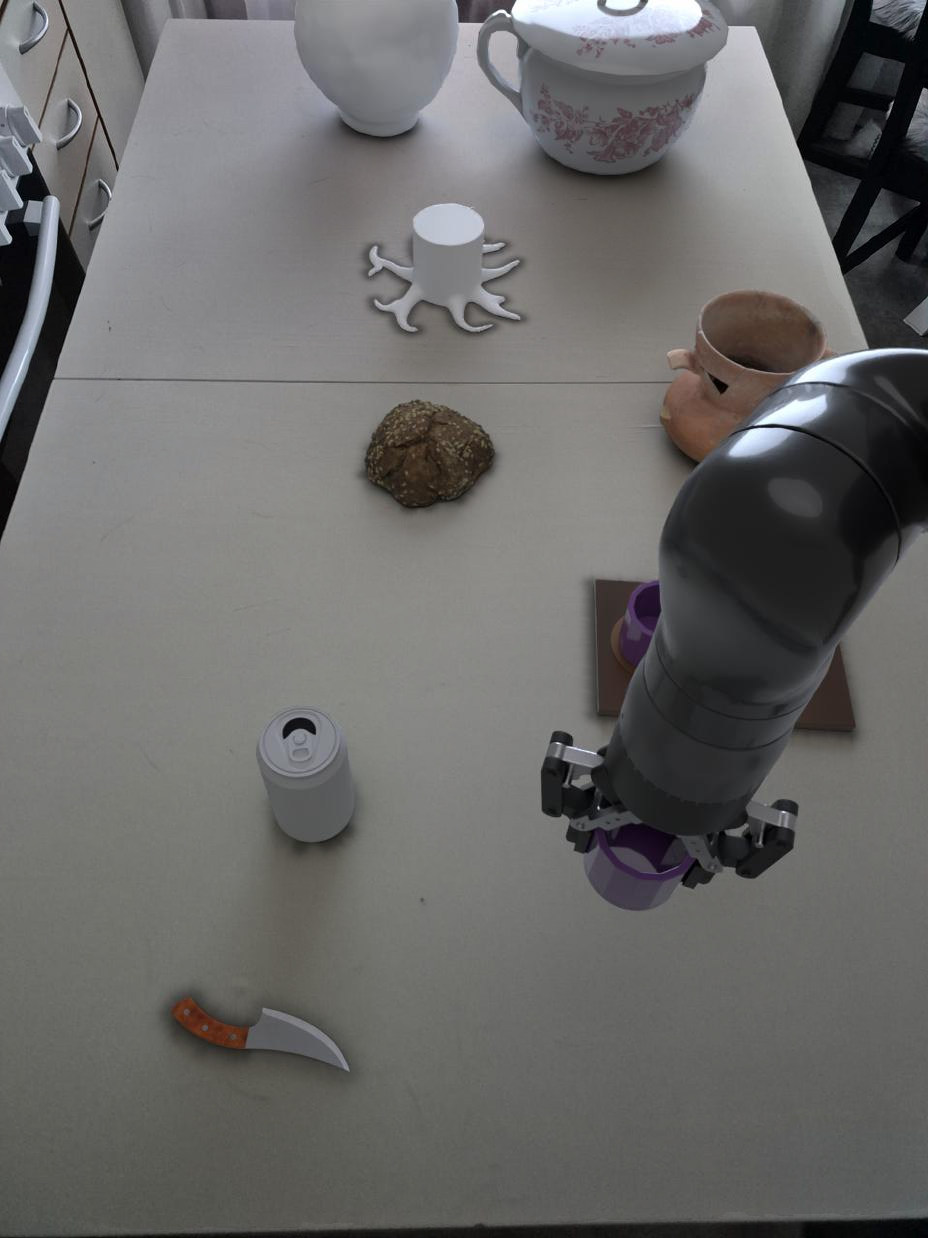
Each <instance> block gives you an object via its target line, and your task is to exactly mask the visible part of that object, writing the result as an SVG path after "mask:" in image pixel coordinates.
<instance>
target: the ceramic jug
mask: <svg viewBox="0 0 928 1238" xmlns="http://www.w3.org/2000/svg"><path fill="white" fill-rule="evenodd" d="M826 330H827V329H826V327H825V325H824V323H823V322H822V320H821V319H820V318H819V317H818V316H817V315H816V314H815V313H814V312H813V311H812V310H811V309H810V308H809V307H807V306H806V305H804V304H803V303H801V302H799V301H796V300H795V299H793V298H791V297H788V296H786V295H782V294H780V293H775V292H773V291H768V290H761V289H751V288H747V289H746V288H745V289H734V290H730V291H727V292H724V293H721V294H718V295H716V296H715V297H713V298H711V299H709V300H708V301H707V302H706V303H705V304H704V305H703V307H702V308H701V309H700V312H699V314H698V317H697V322H696V326H695V338H694V339H695V342H694V343H695V344H694V347H693V349H691V350H689V349H685V348H678V349H673V350H670V351H669V352H667V353H666V356H667V361H668V364H669V367H670V369H671V370H672V371H676V370H685V371H683V372H682V373H681V374H679V375H678V376H677V377H676V378H675V379H674V380H673V381H672V382H671V383H670V385H669V386H668V388H667V390H666V392H665V394H664V397H663V402H662V406H661V407H662V408H661V411H660V415H659V422H660V424H661V425H662V427H663V428H664V431H665V432H666V434H667V435H668V437H669V438H670V440H671V441H672V443H674V445H675V446H676V447H677V448H678V449H679V450H680V451H681V452H683V453H684V454H685V455H687V457H688V458H689V457H690V459H692V460H694V461H696V462H698V463H700V462H701V461H702V460H703V459H704V458H705V457H706V456H707V455H708V454H709V453H710V452H711V451H712V450H713V449H714V448H715V447H716V446H717V445H718V444H719V443H720V442H721V441H722V440H723V439H724V438H725V437H726V436H727V435H728V434H729V433H730V432H731V431H732V430H733V429H734V428H735V427H736V426H737V425H738V424H739V423H740V422H741V421H742V420H743V419H744V418H745V417H746V416H747V415H748V414H749V413H750V412H751V411H752V410H753V409H754V408H755V407H756V406H757V405H758V404H759V403H760V402H761V401H762V400H763V399H764V398H765V397H766V396H767V395H768V394H769V393H770V392H771V391H772V390H773V389H774V388H775V387H776V386H777V385H778V384H779V383H780V382H781V381H783V380H784V379H785V378H787V377H788V376H790V375H791V374H793V373H794V372H796V371H798V370H799V369H801V368H803V367H805V366H807V365H809V364H812V363H814V362H817V361H820V360H823V359H826V358H829V357H832V356H836V355H839V353H838V351H835V350H834V349H832V348H829V347H828V343H829V342H828V334H827V331H826Z"/></svg>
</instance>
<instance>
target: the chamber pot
mask: <svg viewBox="0 0 928 1238" xmlns="http://www.w3.org/2000/svg"><path fill="white" fill-rule="evenodd" d="M509 13H510V14H509ZM509 13H507V11H506V10H505V9H498V10H497V11H495V12H493V13H492V14H490V15H489V16H488V17H487V18H486V19H485V20H484V22H483V23H482V26H481V27H480V29H479V31H478V36H477V41H476V42H477V44H476V51H475V52H476V58H477V64H478V66H479V68H480V69H481V71H482V72H483V74H484V76H485V77H486V79H487V80H488V82H489V83H490V85H491V86H492V87H493V88H495V89H496V90H497V91H499V92H500V94H502V95H503V96H504V97H506V99H507V100H509V102H510V103H511V104H512V105H513V106H514V107H515V109H516V110H517V111H518V112H519V114H520V116H521V117H522V118H523V119H524V121H525V122H526V124H527V125H528V126H529V128H530V130H531V132H532V134H533V136H534V138H535V140H536V142H537V143H538V144H539V145H540V147H541V148H542V149H543V150H544V152H546V154H547V155H548V156H549V157H550V158H552V159H554V160H555V161H556V162H558V163H560V165H563V166H565V167H567V168H571V169H574V170H576V171H579V172H582V173H587V174H588V173H589V174H593V175H599V176H606V175H607V176H609V175H612V176H613V175H615V176H616V175H620V176H621V175H625V174H630V173H635V172H639V171H641V170H643V169H645V168H647V167H649V166H651V165H653V164H655V163H656V162H658V161H659V160H660V159H661V158H662V157H663V156H664V155H665V154H666V153H667V151H669V150H670V148H671V147H672V146H673V145H674V144H675V143H676V142H677V141H678V140H679V139H680V138H681V137H682V136H683V134H684V133H685V132H686V131H687V130H688V129H689V128H690V125H691V123H692V120H693V119H694V116H695V115H696V112H697V110H698V108H699V105H700V103H701V101H702V96H703V92H704V89H705V84H706V81H707V79H706V78H707V74H708V68H709V65H708V62H710V61H711V60H713V59H714V58H715V57H716V56H717V55H718V54H719V53H720V52H721V51H722V50H723V49H724V48H725V46H727V42H728V37H729V31H730V28H729V26H728V24H727V21H726V20H725V18H724V16H723V14H722V12H721V10H720V9H719V8H718V7H716V5H714V4H713V2H711V1H710V0H515V1H514V4H513V5H512V8H511V10H510V12H509ZM497 32H507V33H510V34H512V35H513V36H515V37H516V49H515V57H516V59H517V60H518V61H517V79H518V87H517V86H516V85H515V84H513V83H512V82H511V81H509V80H508V79H506V78H505V77H503V76H502V74H501V73H500V72H499V70H498V69H497V67H496V66H495V64H493V62H492V61H491V56H490V51H489V47H490V40H491V37H492V34H494V33H497Z"/></svg>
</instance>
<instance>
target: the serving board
mask: <svg viewBox="0 0 928 1238" xmlns="http://www.w3.org/2000/svg"><path fill="white" fill-rule="evenodd" d="M648 582H649V581H648ZM648 582H647V581H634V580H633V581H632V580H619V579H618V580H617V579H605V578H604V579H601V578H595V580H594V583H593V601H594V602H593V603H594V604H593V605H594V635H595V637H594V638H595V667H596V668H595V674H596V675H595V676H596V707H597V709H596V712H597V715H598V716H612V717H614V716H615V717H619V714H620V711H621V708H622V705H623V702H624V699H625V692H626V687H627V685H628V683H629V681H630V679H631V678H632V676H633V674H634V672H635V670H636V668H635V667H634V666H632V665H631V664H630V663H629V662H628V661H627V660H626V659H625V658H624V657H623V655H622V653H621V651H620V649H619V645H618V636H619V633H620V629H621V625H622V622H623V619H624V615H625V612H626V609H627V606H628V602H629V599H630V596H631V593H632V592H634V591H635V590H636V589H637V588H638V587H639V586H640V585H641V584H644V583H648ZM794 728H795V729H809V730H824V731H836V732H837V731H839V732H853V730H854V729H855V728H856V720H855V714H854V709H853V705H852V699H851V695H850V690H849V684H848V679H847V674H846V670H845V664H844V659H843V654H842V649H841V644H840V642H839V643H838V645H837V646H836V648H835V652H834V655H833V658H832V661H831V664H830V666H829V668H828V670H827V672H826V674H825V676H824V678H823V680H822V682H821V684H820V685H819V687H818V688H817V690H816V691H815V693H814V695H813V696H812V698H811V699H810V701H809V702H808V704H807V705H806V707H805V708H804V710H803V711H802V713H801V715H800V716H799V718H798V719H797V721H796V722H795V725H794ZM794 728H793V729H794Z"/></svg>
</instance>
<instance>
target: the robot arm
mask: <svg viewBox="0 0 928 1238" xmlns="http://www.w3.org/2000/svg"><path fill="white" fill-rule="evenodd" d="M921 534H928V349H927V348H919V347H904V346H901V347H900V346H899V347H897V346H895V347H894V346H893V347H890V346H889V347H887V346H886V347H876V348H865V349H860V350H854V351H849V352H844V353H840V354H838V355H836V356H832V357H829V358H826V359H823V360H820V361H817V362H814V363H812V364H809V365H807V366H805V367H803V368H801V369H799V370H798V371H796V372H794V373H793V374H791V375H790V376H788V377H787V378H785V379H784V380H783V381H781V382H780V383H779V384H778V385H777V386H776V387H775V388H774V389H773V390H772V391H771V392H770V393H769V394H768V395H767V396H766V397H765V398H764V399H763V400H762V401H761V402H760V403H759V404H758V405H757V406H756V407H755V408H754V409H753V410H752V411H751V412H750V413H749V414H748V415H747V416H746V417H745V418H744V419H743V420H742V421H741V422H740V423H739V424H738V425H737V426H736V427H735V428H734V429H733V430H732V431H731V432H730V433H729V434H728V435H727V436H726V437H725V438H724V439H723V440H722V441H721V442H720V443H719V444H718V445H717V446H716V447H715V448H714V449H713V450H712V451H711V452H710V453H709V454H708V455H707V456H706V457H705V458H704V459H703V460H702V461H701V462H698V464H697V466H695V468H694V469H693V470H692V471H691V473H690V474H689V475H688V477H687V478H686V479H685V481H684V483H683V485H682V486H681V487H680V489H679V491H678V493H677V494H676V497H675V498H674V500H673V502H672V505H671V507H670V509H669V511H668V514H667V517H666V519H665V521H664V524H663V526H662V530H661V534H660V537H659V542H658V551H657V561H658V580H659V588H660V604H661V610H662V611H661V613H660V616H659V619H658V622H657V625H656V628H655V631H654V633H653V636H652V639H651V642H650V645H649V648H648V650H647V652H646V654H645V655H644V657H643V658H642V660H641V661H640V663H639V665H638V666H637V668H636V670H635V672H634V674H633V676H632V678H631V679H630V681H629V683H628V685H627V687H626V692H625V699H624V702H623V705H622V708H621V711H620V714H619V716H617V717H618V718H617V720H616V722H615V723H616V724H615V726H614V728H613V732H612V734H611V736H610V737H611V738H610V740H609V743H608V744H606V745H604V746H602V747H600V748H599V749H597V751H596V752H593V751H589V750H585V749H580V748H579V747H577V746H574V737H573V736H572V735H571V734H570V733H569V732H566V731H564V730H554V731H553V732H552V733H551V735H550V739H549V743H548V746H547V749H546V753H545V755H544V759H543V763H542V765H541V769H540V790H541V791H540V801H541V803H540V805H541V812H542V813H543V814H544V815H546V816H547V817H551V818H555V819H556V818H558V819H559V818H561V817H562V816H563V815H564V816H565V817H567V819H569V823H568V827H567V830H566V833H565V839H566V841H567V842H569V843H572V844H574V846H573V850H572V852H576V853H579V854H584V853H585V850H586V847H587V845H588V842H589V839H590V837H591V834H592V830H593V829H595V828H598V827H601V828H603V829H604V830H606V831H609V830H612V829H615V828H618V827H621V826H624V825H627V824H630V823H634V824H635V825H638V824H640V825H645V826H650V827H653V828H655V829H657V830H660V831H663V832H666V833H669V834H672V835H675V836H677V838H681V840H682V842H683V844H684V845H685V847H686V849H687V851H688V853H689V855H690V857H692V858H697V860H696V861H695V863H694V864H693V866H692V867H691V869H690V871H689V872H688V874H687V875H686V877H685V878H684V880H683V882H682V883H681V885H682V887H685V888H688V889H691V890H694V889H695V888H696V887H697V885H698V884H701V885H706V884H709V883H710V882H711V881H712V880H713V878H714V876H715V875H716V874H720V873H723V872H724V868H732V869H735V871H734V873H735V874H736V875H737V876H739V877H740V878H744V879H746V880H747V879H748V880H755V879H757V878H758V877H759V876H760V875H762V874H763V873H764V872H766V871H767V870H769V868H771V867H772V866H773V865H774V864H776V863H778V861H780V860H781V859H782V858H784V857H785V856H786V855H787V854H789V853H790V852H792V850H793V849H794V846H795V840H796V839H795V838H796V833H797V825H798V818H799V817H798V816H799V809H800V806H799V804H798V802H796V801H794V800H791V799H788V798H781V799H777V800H776V801H774V802H773V803H772V804H771V805H768V804H765V803H761V802H760V803H759V802H758V801H756V800H755V801H754V800H752V799H753V797H754V796H755V795H756V793H757V792H758V790H759V789H760V787H761V785H762V784H763V782H764V781H765V779H766V778H767V777H768V775H769V774H770V772H771V771H772V769H773V768H774V766H775V765H776V763H777V762H778V761H779V759H780V758H781V756H782V754H783V753H784V751H785V749H786V747H787V745H788V743H789V741H790V739H791V736H792V733H793V731H794V725H795V722H796V721H797V719H798V718H799V716H800V715H801V713H802V711H803V710H804V708H805V707H806V705H807V704H808V702H809V701H810V699H811V698H812V696H813V695H814V693H815V691H816V690H817V688H818V687H819V685H820V684H821V682H822V680H823V678H824V676H825V674H826V672H827V670H828V668H829V666H830V664H831V661H832V658H833V655H834V652H835V648H836V646H837V645H838V643H839V644H840V643H841V641H842V640H843V639H844V637H845V636H846V634H847V633H848V632H849V630H850V629H851V628H852V627H853V625H854V624H855V623H856V621H857V620H858V619H859V617H860V616H861V614H863V612H864V610H865V609H866V608H867V606H868V605H869V604H870V603H871V601H872V600H873V598H874V597H875V596H876V594H877V593H878V592H879V590H880V589H881V588H882V587H883V585H884V584H885V583H886V582H887V580H888V579H889V577H890V576H891V575H892V574H893V572H894V571H895V570H896V568H897V566H898V565H899V564H900V563H901V561H902V560H903V559H904V557H905V556H906V554H907V553H908V551H909V550H910V549H911V548H912V546H914V544H915V543H916V541H917V540H918V538H919V537H920V535H921ZM584 775H585V776H587V775H588V776H590V779H591V781H589V782H587V783H584V784H582V785H581V786H579V787H578V786H576V785H574V784H572V783H573V781H578V780H580V779H581V776H584ZM746 824H747V825H748V826H747V827H746V828H745V829H744V830H743V831H741V835H740V836H737V835H730V830H736V829H739V828H741V827H743V826H744V825H746Z"/></svg>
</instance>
